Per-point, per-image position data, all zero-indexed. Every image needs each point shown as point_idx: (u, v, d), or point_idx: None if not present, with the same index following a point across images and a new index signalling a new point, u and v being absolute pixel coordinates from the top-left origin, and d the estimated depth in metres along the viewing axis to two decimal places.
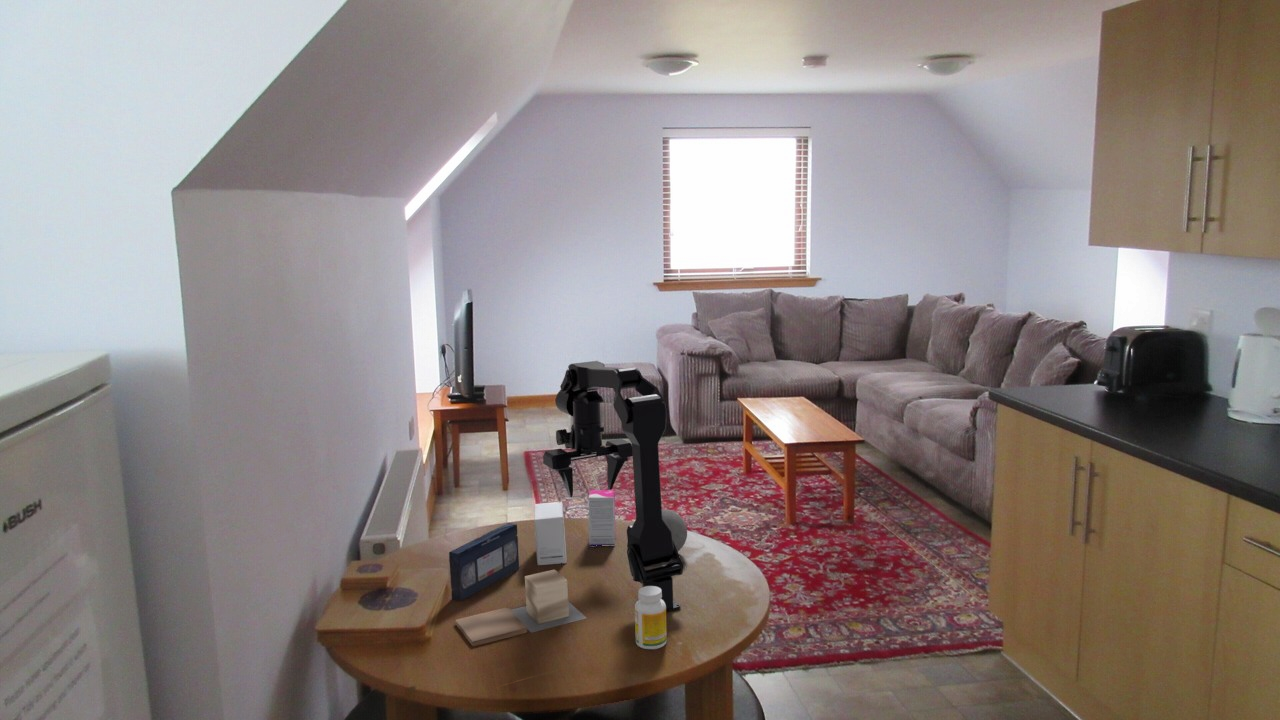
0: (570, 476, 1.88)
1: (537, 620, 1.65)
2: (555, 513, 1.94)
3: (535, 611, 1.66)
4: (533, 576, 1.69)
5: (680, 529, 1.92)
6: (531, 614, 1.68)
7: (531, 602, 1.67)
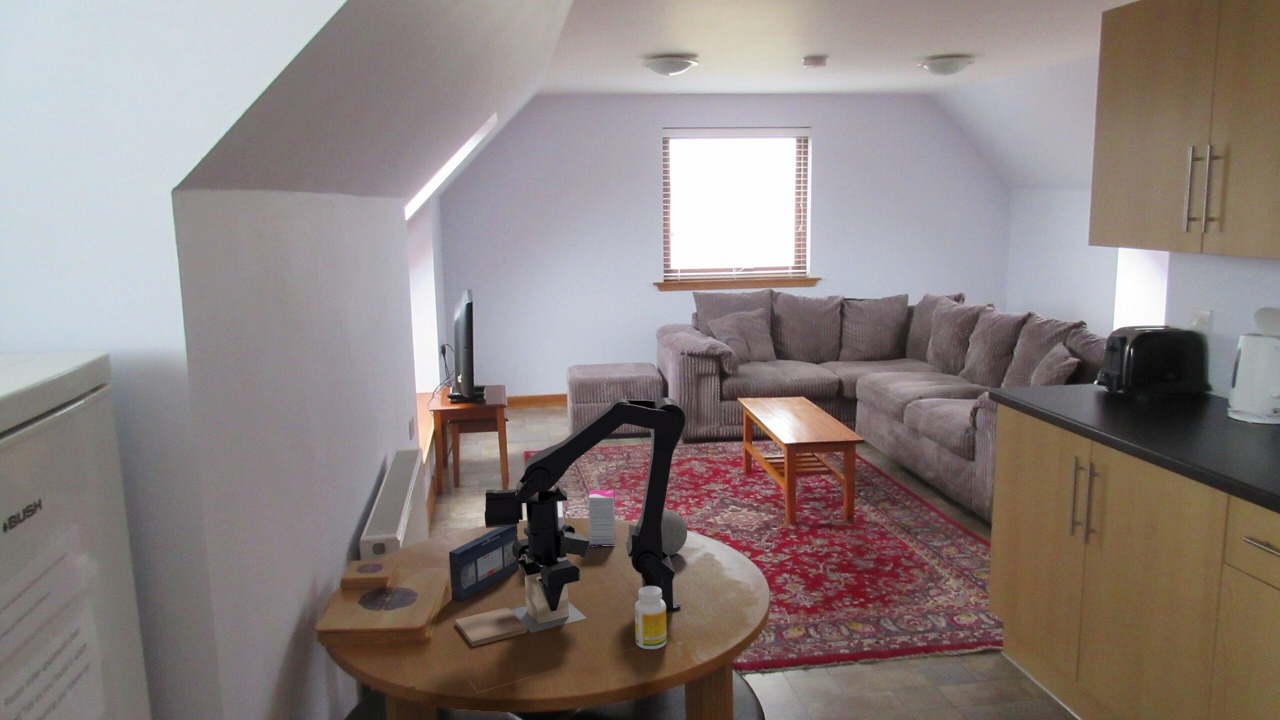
0: (525, 573, 1.70)
1: (537, 620, 1.65)
2: None
3: (535, 611, 1.66)
4: (533, 576, 1.69)
5: (680, 529, 1.92)
6: (531, 614, 1.68)
7: (531, 602, 1.67)
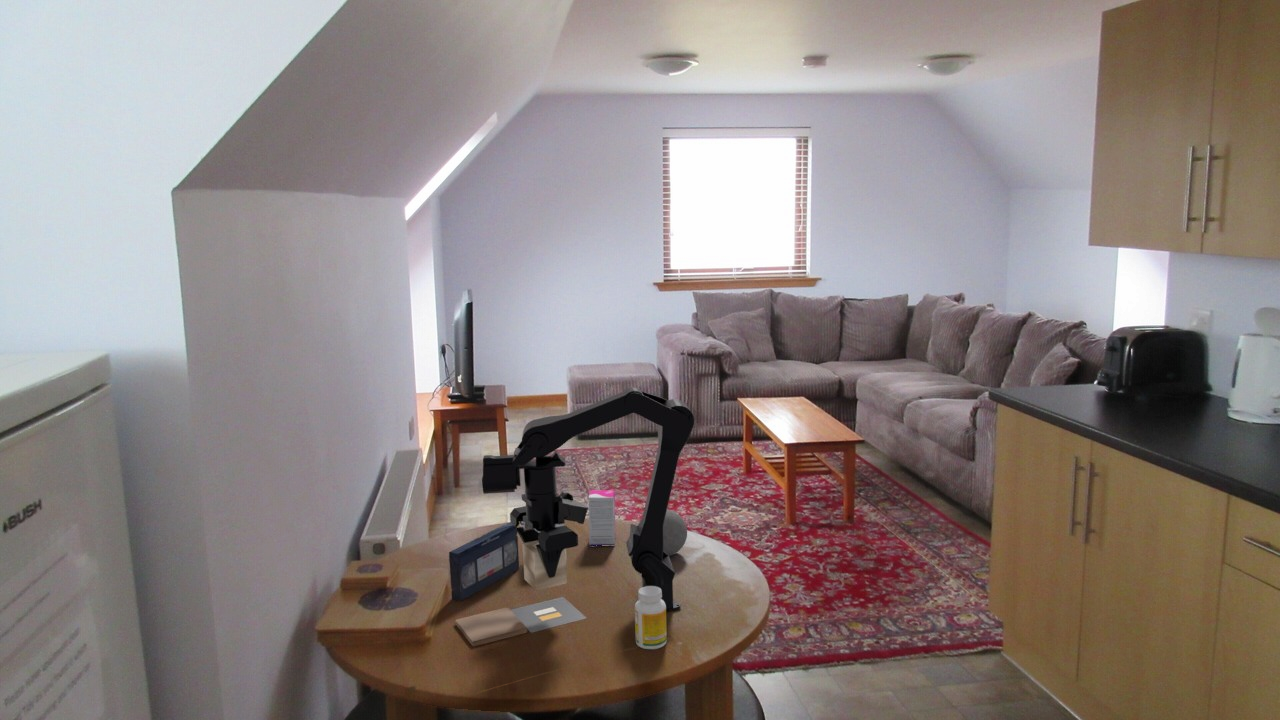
0: (523, 540, 1.69)
1: (535, 587, 1.64)
2: None
3: (532, 577, 1.65)
4: (531, 543, 1.68)
5: (680, 529, 1.92)
6: (528, 581, 1.67)
7: (529, 569, 1.66)
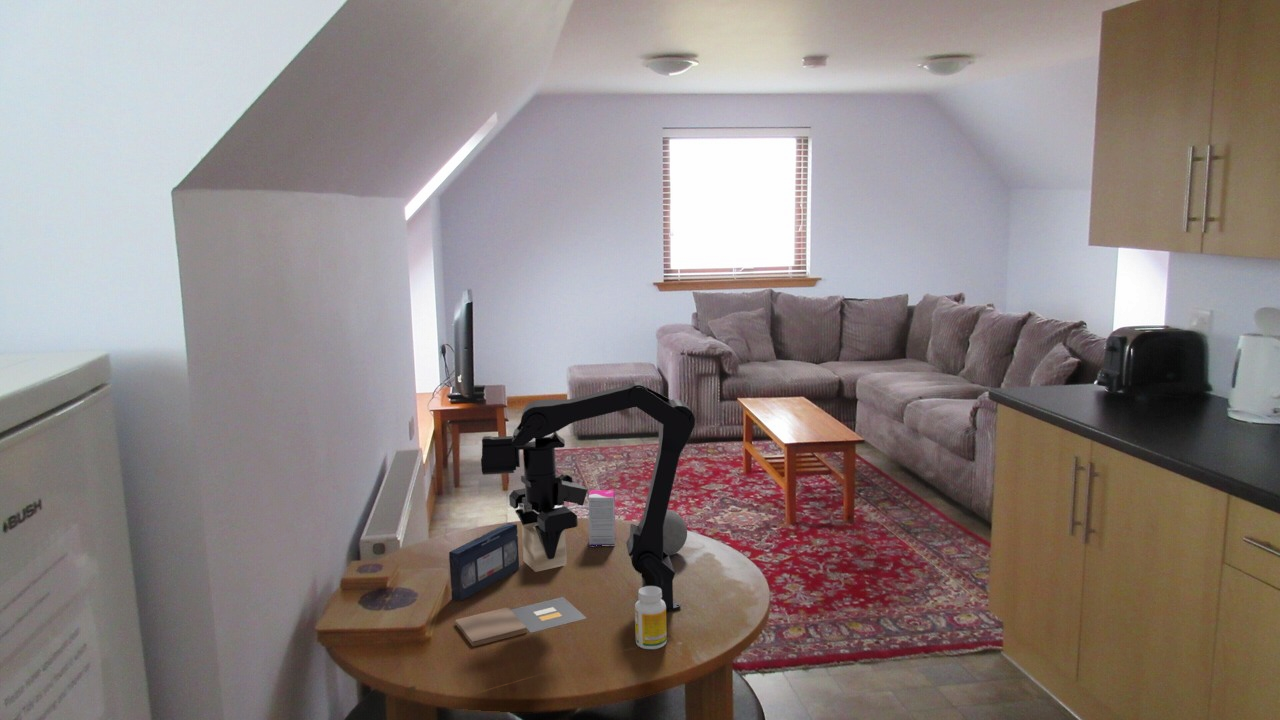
0: (522, 522, 1.69)
1: (534, 568, 1.64)
2: None
3: (532, 559, 1.64)
4: (530, 525, 1.67)
5: (680, 529, 1.92)
6: (528, 563, 1.66)
7: (528, 551, 1.65)
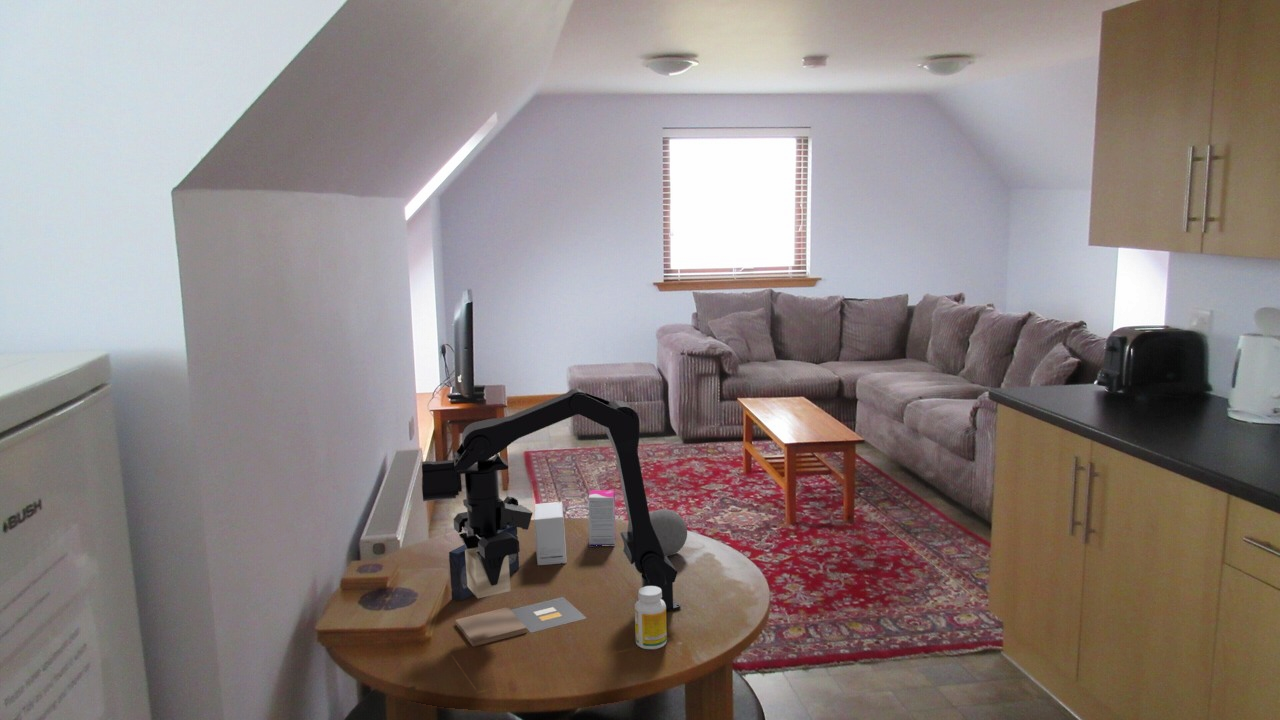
0: (466, 547, 1.64)
1: (476, 595, 1.59)
2: (555, 513, 1.94)
3: (474, 585, 1.59)
4: (473, 549, 1.62)
5: (680, 529, 1.92)
6: (471, 589, 1.62)
7: (471, 576, 1.61)
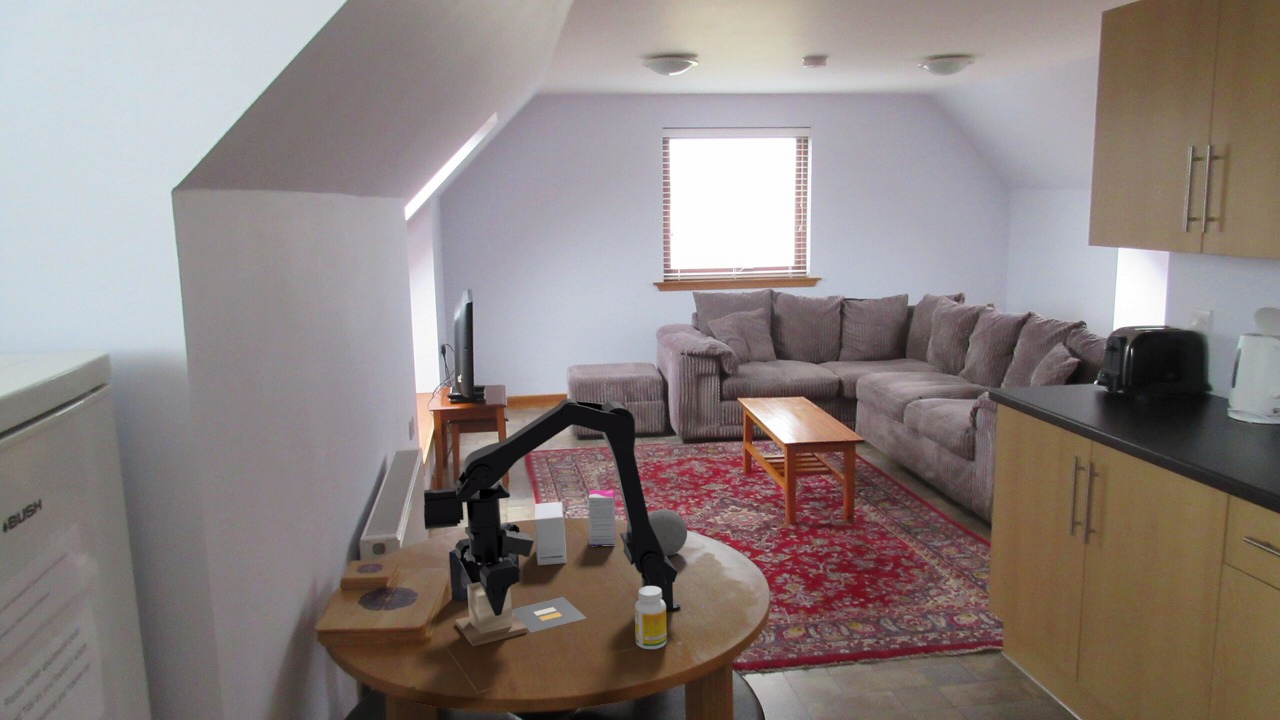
0: (465, 571, 1.66)
1: (479, 630, 1.60)
2: (555, 513, 1.94)
3: (477, 621, 1.61)
4: (476, 585, 1.63)
5: (680, 529, 1.92)
6: (473, 624, 1.63)
7: (473, 612, 1.62)
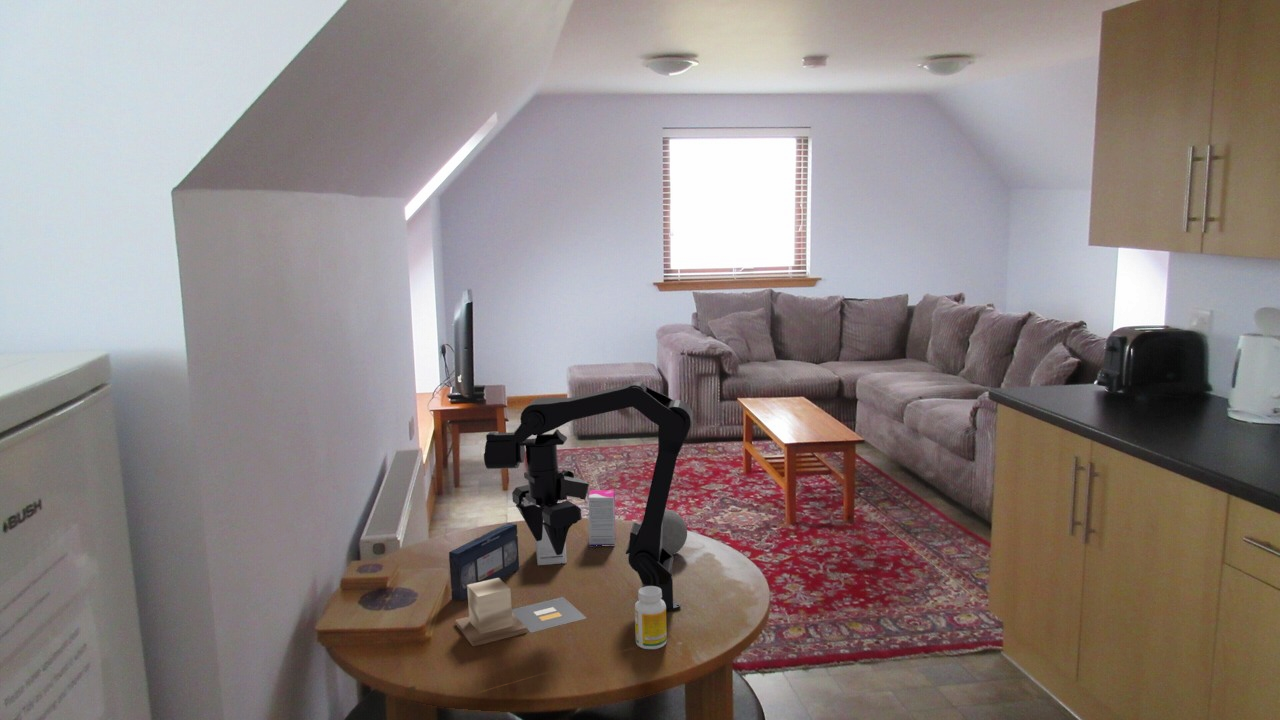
0: (523, 516, 1.74)
1: (479, 630, 1.60)
2: None
3: (477, 621, 1.61)
4: (476, 585, 1.63)
5: (680, 529, 1.92)
6: (473, 624, 1.63)
7: (473, 612, 1.62)
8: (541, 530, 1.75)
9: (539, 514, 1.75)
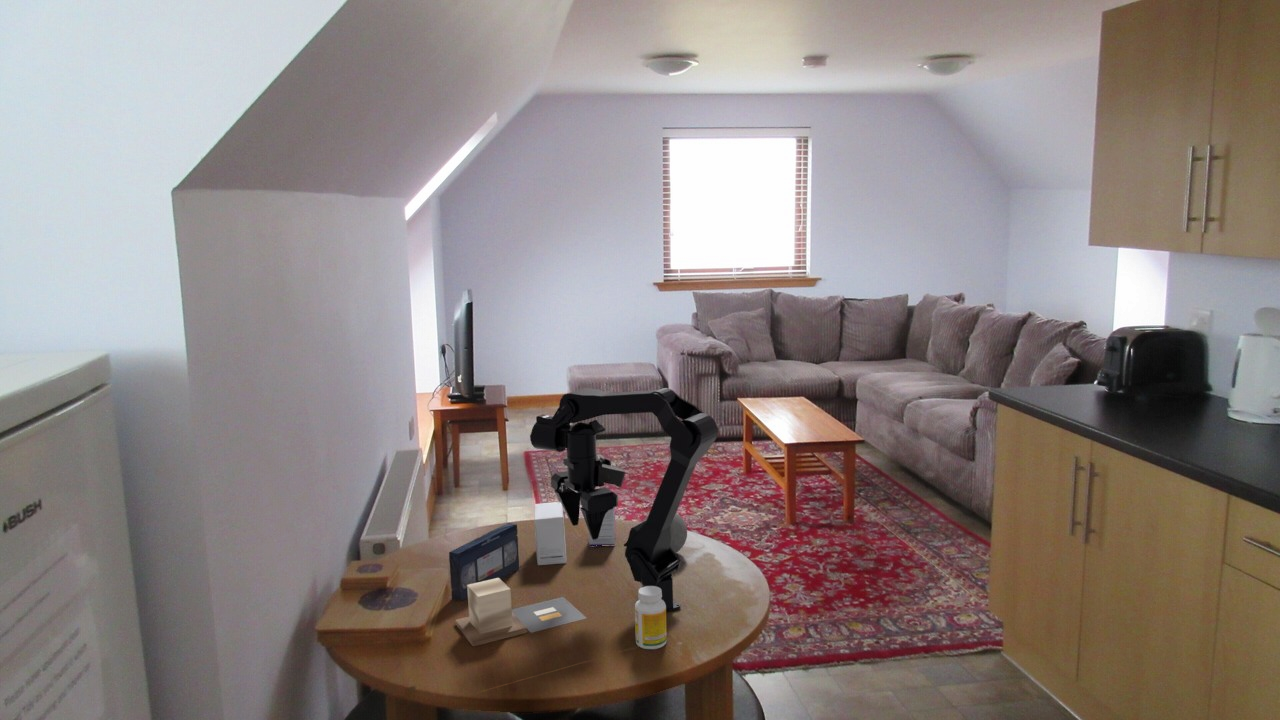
0: (561, 501, 1.80)
1: (479, 630, 1.60)
2: (555, 513, 1.94)
3: (477, 621, 1.61)
4: (476, 585, 1.63)
5: (680, 529, 1.92)
6: (473, 624, 1.63)
7: (473, 612, 1.62)
8: (578, 515, 1.81)
9: (577, 500, 1.81)
